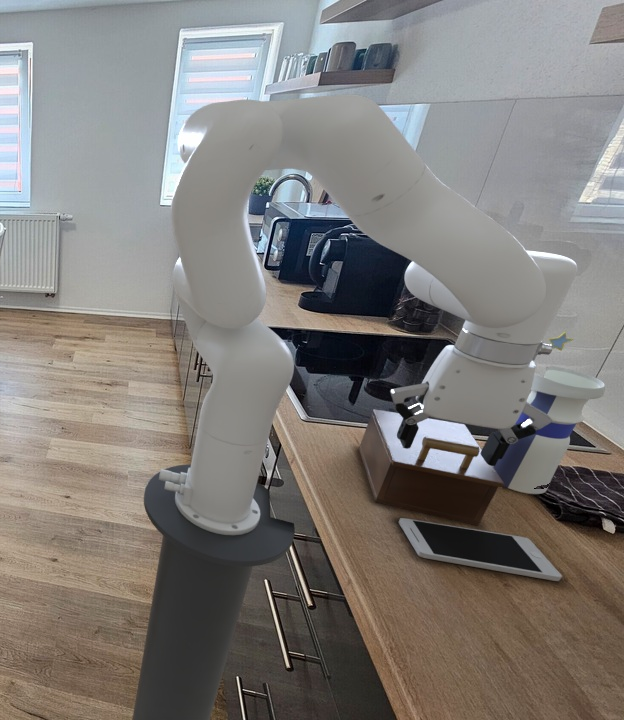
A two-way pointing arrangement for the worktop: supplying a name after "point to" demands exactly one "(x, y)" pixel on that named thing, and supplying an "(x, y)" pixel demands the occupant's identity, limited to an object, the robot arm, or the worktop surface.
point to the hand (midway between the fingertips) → (444, 451)
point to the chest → (421, 485)
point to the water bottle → (548, 445)
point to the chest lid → (437, 449)
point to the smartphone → (478, 549)
